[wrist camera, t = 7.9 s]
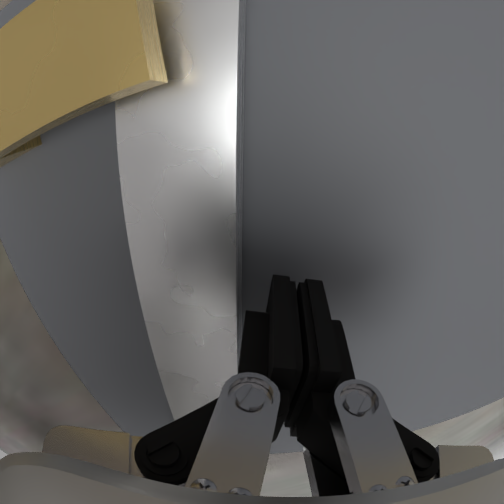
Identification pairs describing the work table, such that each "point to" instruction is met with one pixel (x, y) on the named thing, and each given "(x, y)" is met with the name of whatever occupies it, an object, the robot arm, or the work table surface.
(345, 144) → the base plate
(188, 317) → the link
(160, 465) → the robot arm
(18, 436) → the work table surface
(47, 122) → the strip
